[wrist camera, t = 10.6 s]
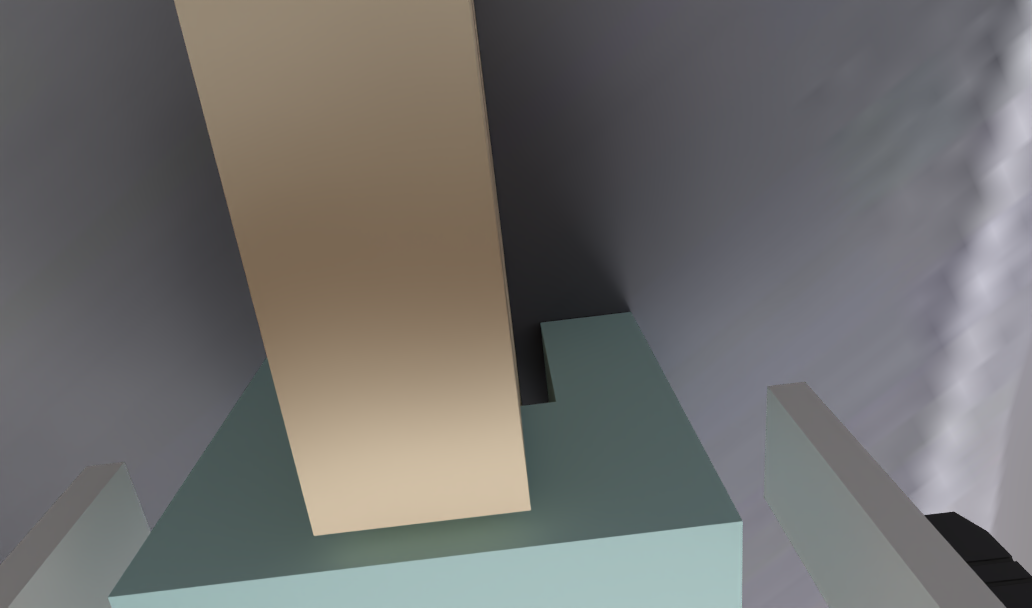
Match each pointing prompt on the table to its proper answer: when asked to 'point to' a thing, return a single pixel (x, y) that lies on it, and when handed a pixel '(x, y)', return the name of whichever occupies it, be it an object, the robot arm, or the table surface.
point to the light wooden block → (370, 248)
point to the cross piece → (476, 540)
